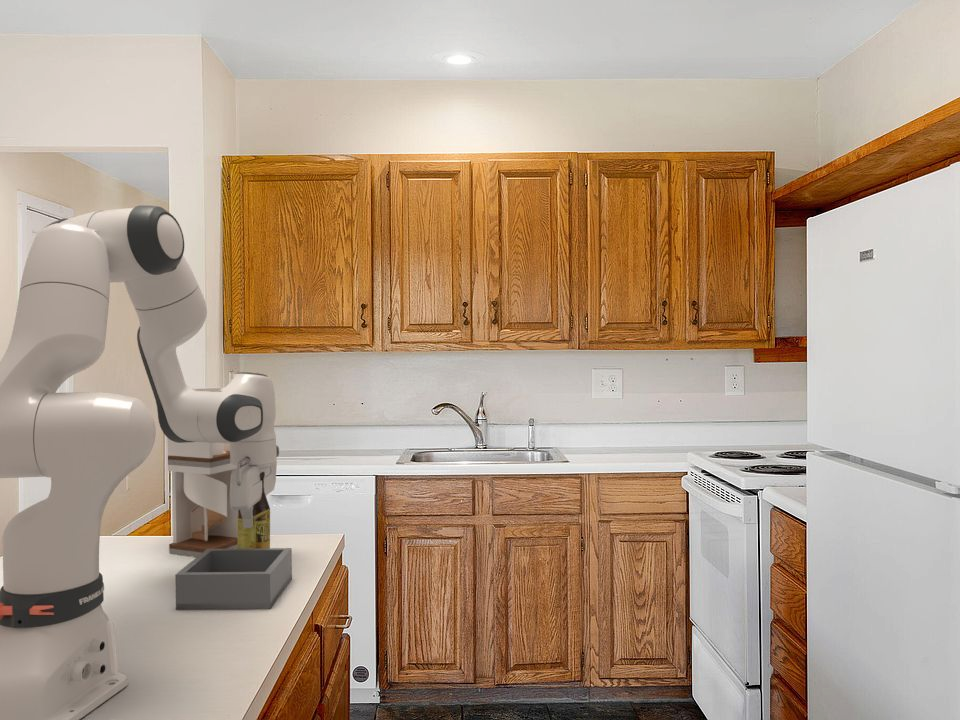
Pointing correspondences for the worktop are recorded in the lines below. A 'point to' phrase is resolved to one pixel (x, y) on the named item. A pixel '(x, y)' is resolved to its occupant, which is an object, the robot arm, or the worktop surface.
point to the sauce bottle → (256, 525)
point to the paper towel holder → (201, 496)
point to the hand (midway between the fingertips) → (254, 522)
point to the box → (234, 579)
